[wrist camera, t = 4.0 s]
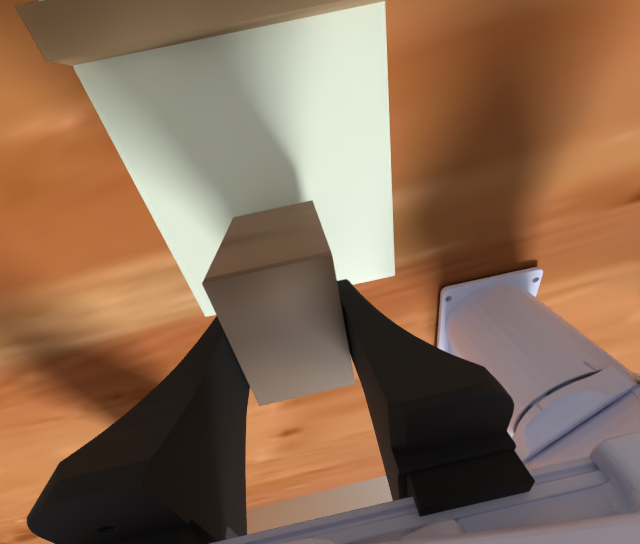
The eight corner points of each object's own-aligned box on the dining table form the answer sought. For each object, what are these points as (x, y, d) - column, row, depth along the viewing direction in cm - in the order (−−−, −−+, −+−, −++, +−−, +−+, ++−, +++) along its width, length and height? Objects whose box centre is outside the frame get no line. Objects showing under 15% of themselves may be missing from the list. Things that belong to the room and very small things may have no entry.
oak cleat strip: (385, 0, 12) (398, -12, 10) (72, 65, 11) (46, 61, 10) (382, -52, 11) (397, -72, 9) (46, 17, 11) (14, 6, 9)
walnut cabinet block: (331, 297, 17) (355, 384, 11) (266, 311, 17) (259, 405, 11) (312, 200, 14) (332, 255, 8) (233, 217, 14) (201, 283, 8)
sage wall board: (387, 264, 20) (395, 275, 19) (210, 302, 20) (205, 316, 19) (370, -62, 12) (381, -82, 10) (59, 1, 11) (31, -10, 10)
